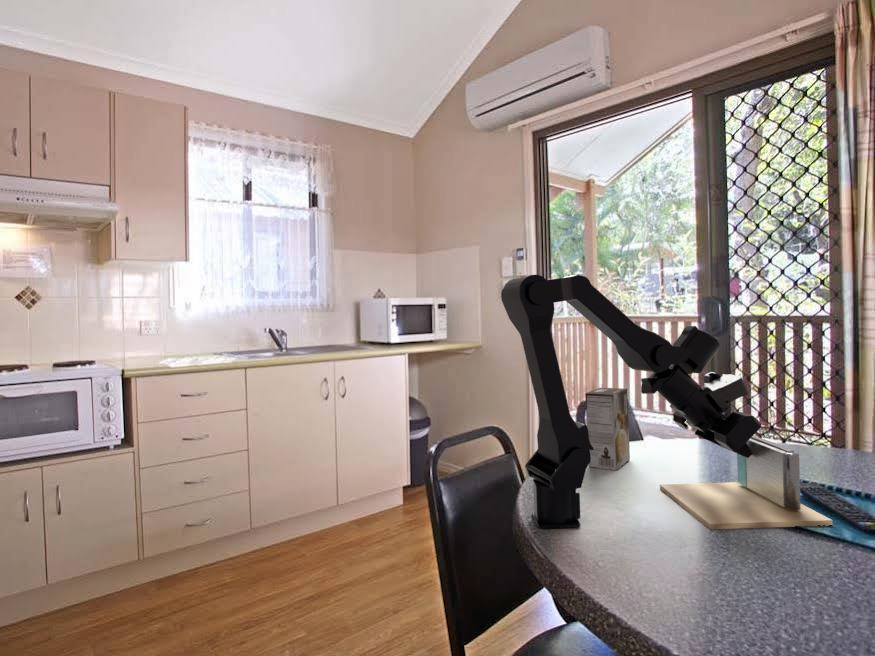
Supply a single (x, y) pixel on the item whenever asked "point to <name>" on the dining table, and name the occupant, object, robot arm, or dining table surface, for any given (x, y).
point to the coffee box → (608, 427)
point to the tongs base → (739, 505)
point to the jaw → (771, 474)
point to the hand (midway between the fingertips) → (746, 454)
